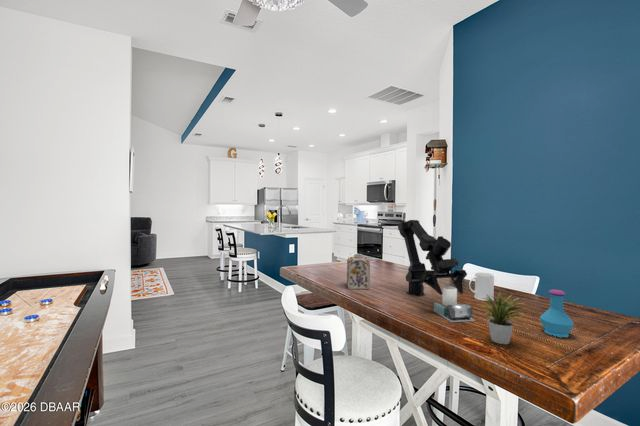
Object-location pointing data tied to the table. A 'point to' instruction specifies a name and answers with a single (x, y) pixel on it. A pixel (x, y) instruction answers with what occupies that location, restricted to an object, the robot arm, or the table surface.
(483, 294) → the mug
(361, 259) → the decorative jar
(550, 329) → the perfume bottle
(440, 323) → the table surface
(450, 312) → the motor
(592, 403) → the table surface
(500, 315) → the house plant
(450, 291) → the white cylinder
